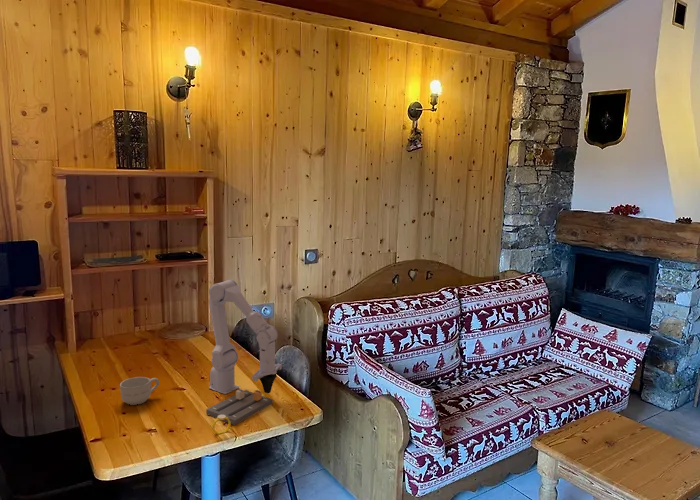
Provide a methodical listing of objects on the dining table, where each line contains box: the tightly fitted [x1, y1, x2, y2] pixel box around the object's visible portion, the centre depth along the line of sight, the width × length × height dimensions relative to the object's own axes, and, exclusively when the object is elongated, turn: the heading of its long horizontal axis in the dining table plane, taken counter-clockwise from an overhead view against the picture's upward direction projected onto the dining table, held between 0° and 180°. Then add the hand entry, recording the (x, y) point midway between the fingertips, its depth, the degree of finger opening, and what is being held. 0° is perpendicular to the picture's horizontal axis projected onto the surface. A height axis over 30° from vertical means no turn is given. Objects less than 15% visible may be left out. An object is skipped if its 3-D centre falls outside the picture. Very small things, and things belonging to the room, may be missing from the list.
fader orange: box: [253, 389, 263, 401], centre depth 195 cm, size 2×2×3 cm
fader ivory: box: [235, 388, 245, 400], centre depth 196 cm, size 2×2×3 cm
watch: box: [211, 415, 232, 435], centre depth 175 cm, size 6×3×6 cm, turn 122°
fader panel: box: [205, 389, 274, 426], centre depth 192 cm, size 14×20×2 cm
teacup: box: [119, 376, 160, 406], centre depth 196 cm, size 14×11×8 cm
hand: (267, 392), depth 200 cm, fingers closed
